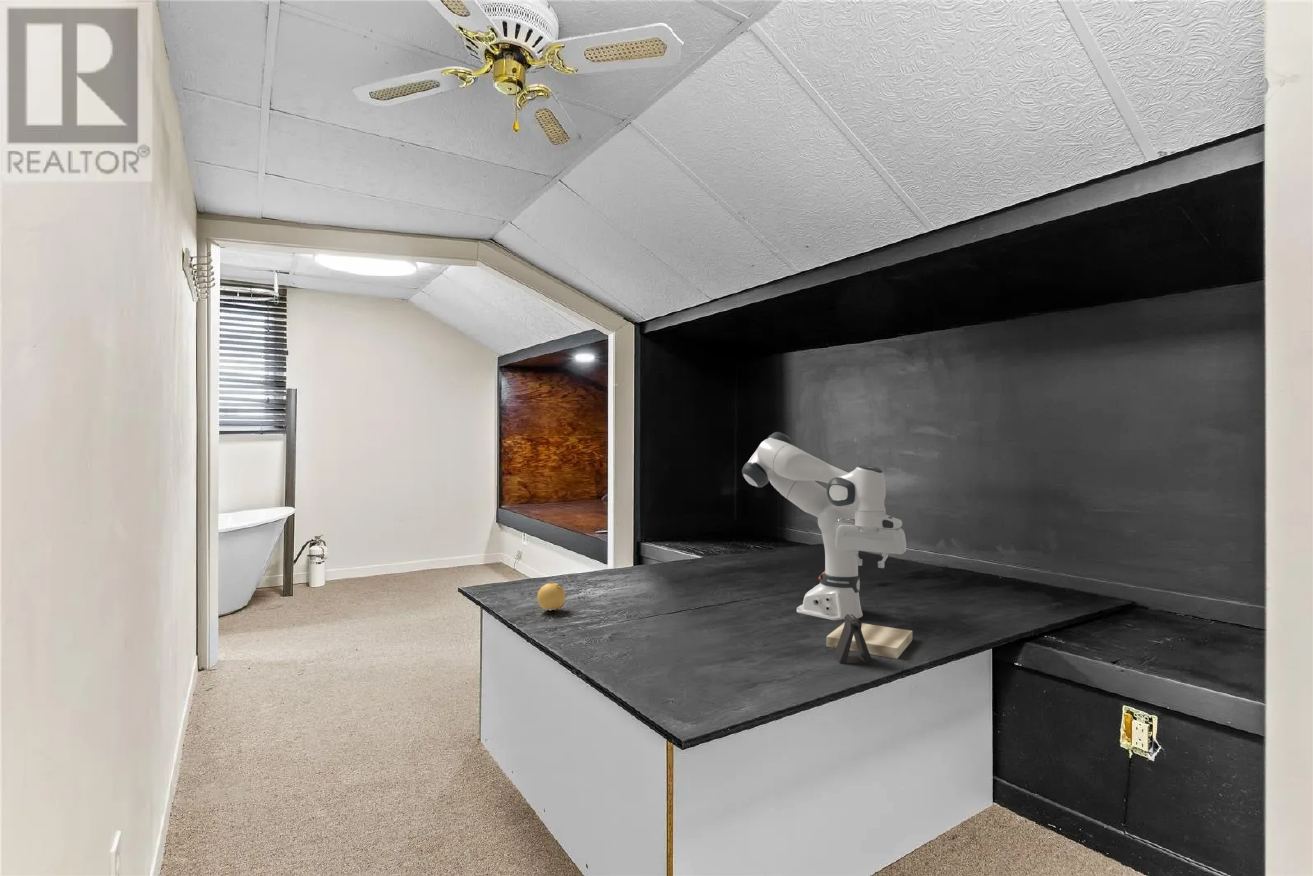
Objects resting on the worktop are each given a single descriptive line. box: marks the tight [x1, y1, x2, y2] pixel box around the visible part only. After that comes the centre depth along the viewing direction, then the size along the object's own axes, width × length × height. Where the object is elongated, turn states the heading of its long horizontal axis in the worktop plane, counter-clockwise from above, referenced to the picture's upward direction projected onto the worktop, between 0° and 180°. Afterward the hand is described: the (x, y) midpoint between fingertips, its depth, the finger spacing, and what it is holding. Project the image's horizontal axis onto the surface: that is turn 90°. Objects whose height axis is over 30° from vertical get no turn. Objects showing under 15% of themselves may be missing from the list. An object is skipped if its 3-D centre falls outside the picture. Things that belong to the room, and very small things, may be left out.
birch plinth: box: [825, 621, 913, 660], centre depth 193 cm, size 20×20×3 cm
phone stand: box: [833, 614, 874, 665], centre depth 178 cm, size 9×6×12 cm, turn 90°
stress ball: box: [537, 581, 566, 610], centre depth 230 cm, size 10×10×10 cm
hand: (870, 566), depth 193 cm, fingers open, 5 cm apart
